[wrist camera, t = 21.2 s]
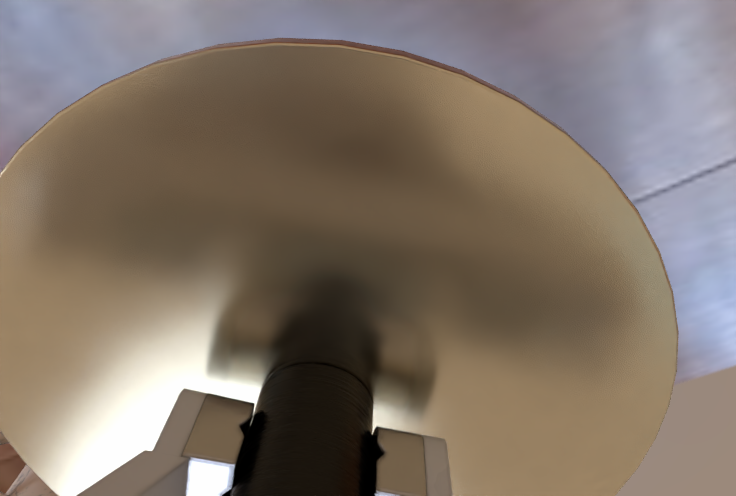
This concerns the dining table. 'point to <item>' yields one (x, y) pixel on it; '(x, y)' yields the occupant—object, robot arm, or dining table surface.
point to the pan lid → (328, 276)
